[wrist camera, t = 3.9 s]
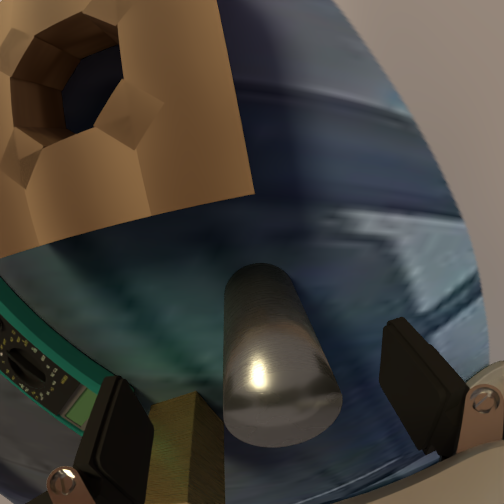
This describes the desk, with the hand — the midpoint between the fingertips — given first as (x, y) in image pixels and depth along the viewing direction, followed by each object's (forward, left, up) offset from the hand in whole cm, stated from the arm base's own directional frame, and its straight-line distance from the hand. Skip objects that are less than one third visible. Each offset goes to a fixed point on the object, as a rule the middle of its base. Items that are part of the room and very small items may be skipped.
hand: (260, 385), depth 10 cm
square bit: (+6, +10, -8) cm, 14 cm away
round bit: (-1, +1, -8) cm, 8 cm away
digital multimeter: (+16, +3, -9) cm, 19 cm away
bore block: (+5, -12, -8) cm, 16 cm away
